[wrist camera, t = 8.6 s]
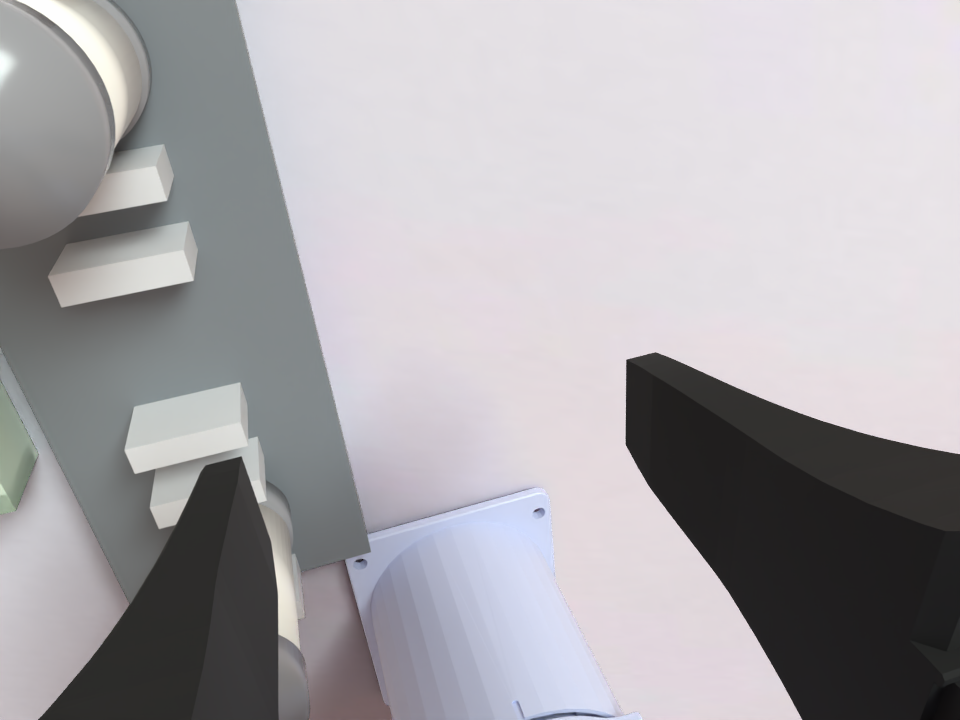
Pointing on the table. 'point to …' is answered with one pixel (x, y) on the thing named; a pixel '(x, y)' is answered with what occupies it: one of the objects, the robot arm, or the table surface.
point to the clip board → (182, 316)
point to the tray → (13, 455)
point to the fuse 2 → (286, 609)
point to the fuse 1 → (63, 108)
